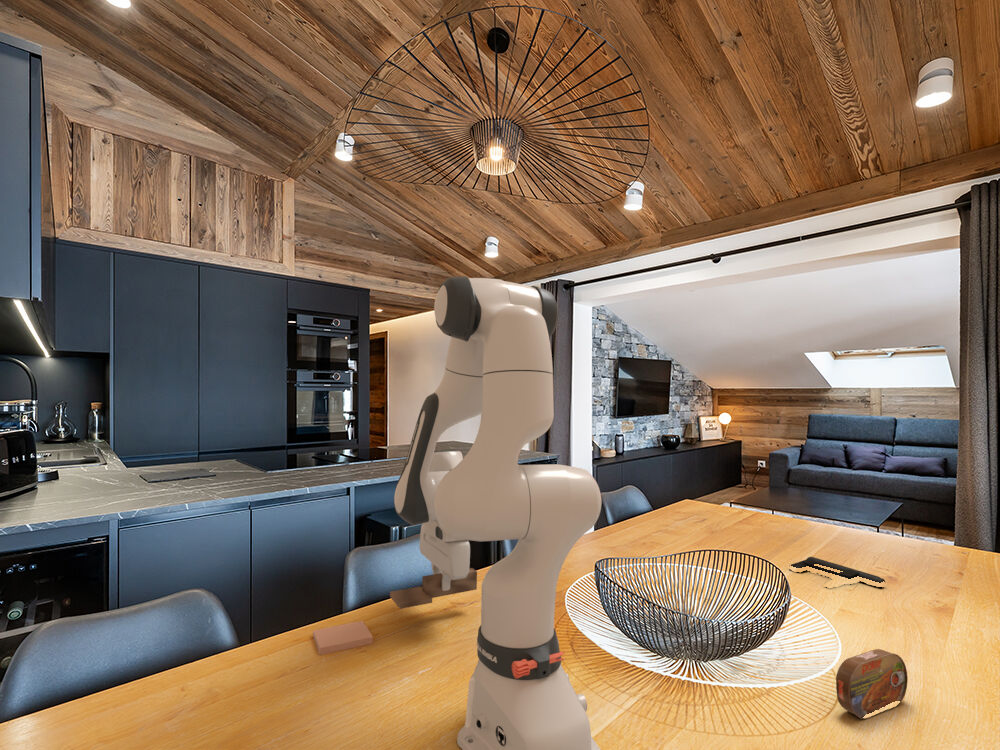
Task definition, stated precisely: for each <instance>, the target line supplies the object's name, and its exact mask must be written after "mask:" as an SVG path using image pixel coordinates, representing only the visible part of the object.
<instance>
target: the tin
mask: <svg viewBox="0 0 1000 750" xmlns="http://www.w3.org/2000/svg"><path fill="white" fill-rule="evenodd" d="M835 684H836V686H835V687H836V688H835V689H836V698H837V701H838V704H839V705H840V707H842V708H843V709H844V710H845V711H847V712H849V713H850V714H852V715H854V716H856V717H857V718H859V719H861V720H864V719H863V717H864V716H865V715H866V714H869V713H872V712H874V711H875V710H879V709H880V708H882V707H885V706H886V705H888V704H890V703H892V702H895V701H900V702H901V701H902V702H903V700H904V698H905V695H906V693H907V688H908V671H907V666H906V664H905V661H904V660H903V659H902V657H901V655H898V654H896V653H892V652H889V651H886V650H883V649H880V648H876V649H871V650H869V651H866V652H863V653H860V654H857V655H854V656H851V657H848V658H846V659H844V661H842V663H840V666H839V667H838V670H837V672H836V676H835ZM902 702H901V703H902Z"/></svg>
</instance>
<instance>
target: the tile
mask: <svg viewBox="0 0 1000 750" xmlns="http://www.w3.org/2000/svg"><path fill="white" fill-rule="evenodd" d="M370 631H371V630H369V627H368V626H367V625H366V623H365V622H364V620H359V621H355V622H349V623H344V624H338V625H333V626H329V627H323V628H317V629H313V630H312V637H313V641H314V644H315V647H316V649H317V652H318V654H319V656H323V655H327V654H331V653H335V652H340V651H345V650H348V649H354V648H358V647H362V646H366V645H367V646H368V645H371V644H374V643H373V641H374V640H373V639H374V638H373V637H374V636H373V635H372V633H371V632H370Z"/></svg>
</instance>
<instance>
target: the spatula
mask: <svg viewBox="0 0 1000 750" xmlns="http://www.w3.org/2000/svg"><path fill="white" fill-rule="evenodd" d="M442 577H443V575H442V573H439V574H434V575H433V574H428V575H423V576H422V581H421V582H422V583H421V585H422V586H416V587H415V586H414V587H409V588H403V589H399V590H398V589H397V590H392V591H390V592H389V597H390V599H391V600H392V601H393V602H394V603H395V604H394V605H396V606H397V607H398V609H399V610H401V609H408V608H411V607H417V606H422V605H427V604H433V598H439V597H440V598H441V597H444V596H445V597H446V596H449V595H450V596H451V595H454V594H456V595H457V594H459V593H465V592H470V591H475V590H478V589H477V587H478V586H477V585H478V582H477V581H478V571H477V570H476V569H475V568H473V567H469V573H468V575H467V577H466V578H462V579H457V580H452V579H451V582H450V589H449V590H447V591H443V590H442V589H441V588H440V581H442Z"/></svg>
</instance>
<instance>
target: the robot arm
mask: <svg viewBox="0 0 1000 750" xmlns="http://www.w3.org/2000/svg"><path fill="white" fill-rule="evenodd" d="M433 310H434V317H435V323H436V326H437V327H438V328H439V329H440V331H441V332H442V333H443V334H444V335H446V336H449V337H450V340H449V343H448V344H449V345H448V349H447V355H446V359H445V360H446V361H445V366H444V368H445V369H444V373H443V377H442V379H441V381H440V383H439V385H438V386H437V388H436V389H435V391H434V392H433V393H431V394H429V395H428V396H426V398H425V399H424V401H423V403H422V406H421V408H420V412H419V415H418V416H417V421H416V423H415V427H414V430H413V434H412V438H411V442H410V445H409V448H408V452H407V455H406V459H405V463H404V466H403V469H402V472H401V474H400V476H399V477H398V480H397V484H396V486H395V487H396V488H395V491H394V497H393V498H394V501H393V502H394V510H395V513H396V514H397V515H398V516H399V518H401V519H402V520H403V521H405V522H406V523H408V524H409V525H411V526H415V525H421V526H420V535H419V552H420V554H421V555H422V556H424V558H426V559H427V560H428V561H429V562H430V564H431V565H430V566H431V571H432V575H434V574H439V573H442V575H443V577H442V581H440V588H441V589H442V590H443V591H447V590H449V589H450V582H451V579H452V580H457V579H462V578H466V577H467V575H468V573H469V568H470V566H471V565H470V564H471V561H470V559H471V544H470V541H472V542H473V541H474V542H492V541H508V540H511V541H512V540H518V541H517V543H516V544H515V547H514V548H513V549H512V551H511V552H510V553H509V554H508V555H506V556H505V557H504V558H502V559H500V560H499V561H497V562H496V563H494V564H493V565H492V566H491V567H490V568H489V569H488V571H487V572H486V573H485V575H484V577H483V580H482V581H481V604H480V607H481V608H480V611H481V612H480V618H481V619H480V625H479V627H478V630H477V637H476V646H477V651H476V652H477V653H476V655H477V657H478V661H477V663H476V666H475V669H474V671H473V673H472V675H471V677H470V680H469V682H468V691H467V703H466V714H465V715H466V716H465V724H464V726H462V727H461V728H460V730H459V731H458V733H457V738H456V744H457V745H458V747H459V748H461V750H601V748H600V747H599V745H598V744H597V742H596V741H595V740H594V738H593V737H592V733H591V732H592V731H591V725H590V723H591V722H590V720H589V717H588V715H587V710H588V701H587V699H586V695H584V694H583V693H578V694H577V693H576V691H575V688H574V687H573V685H572V683H571V681H570V676H569V674H568V673H567V672H566V671H565V670H564V667H563V665H562V661H563V660H565V658H564V657H562V656H563V655H565V651H561V650H560V642H559V639H558V635H557V631H556V629H555V610H556V609H555V607H556V597H557V596H556V593H557V585H558V581H559V576H560V572H561V571H562V568H563V565H564V563H565V561H566V558H567V557H568V555H569V553H570V552H571V550H572V548H574V546H575V544H576V543H577V542H578V541H579V540H580V539H581V538H582V537H583V535H585V534H586V533H587V532H589V531H590V530H591V529H592V528H594V526H595V524H596V523H597V521H598V519H599V516H600V514H601V509H602V494H601V490H600V487H599V484H598V483H597V480H596V479H595V478H594V476H593V475H592V474H591V473H590V472H589V470H586V469H584V468H582V467H575V466H569V465H565V464H559V463H557V464H555V463H553V464H519V463H518V462H519V461H518V460H519V456H520V453H521V451H522V450H523V448H524V446H525V445H527V444H529V443H531V442H533V441H535V440H537V439H538V438H540V437H542V436H543V435H544V434H545V433H547V432H548V430H549V429H550V428H551V426H552V424H553V422H554V418H555V417H554V415H555V414H554V413H555V412H554V410H555V409H554V374H553V373H554V369H553V357H552V356H553V354H552V347H551V341H550V337H551V336H552V335H553V333H555V330H556V327H557V325H558V318H559V308H558V303H557V301H556V299H555V296H554V294H553V293H551V291H549V290H547V289H544V288H543V287H539V286H536V285H531V286H529V285H526V284H522V283H517V282H511V281H506V280H505V281H504V280H503V279H498V278H487V277H468V276H466V275H462V276H459V275H458V276H451V277H447V278H446V279H445V280H444V281H443V282H442V283H441V284H440V285H439V287H438V290H437V294H436V296H435V299H434V305H433ZM477 416H480V423H479V427H478V431H477V433H476V437H475V439H474V442H473V444H472V446H471V447H470V449H469V451H468V452H467V453H466V455H464V456H463V453H462V452H461V451H460V450H458V449H441V450H439V449H438V450H436V446H437V443H438V440H439V438H441V436H442V435H443V434H444V433H445V432H446V431H447V430H449V429H450V428H452V427H453V426H456V425H457V424H459V423H462V422H464V421H467V420H470V419H472V418H475V417H477Z"/></svg>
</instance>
